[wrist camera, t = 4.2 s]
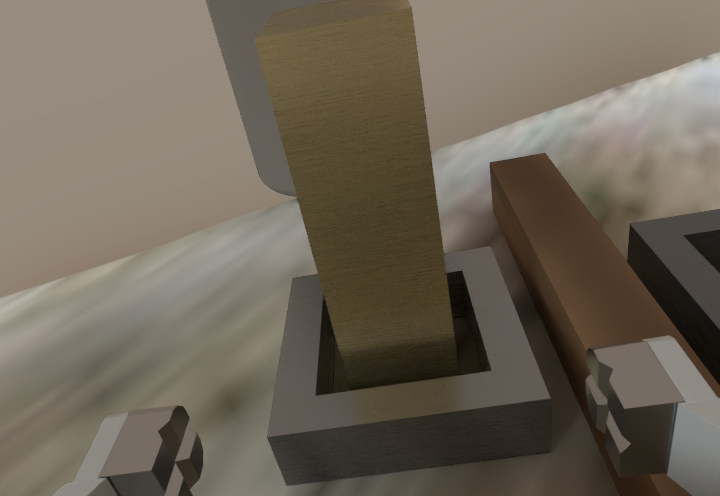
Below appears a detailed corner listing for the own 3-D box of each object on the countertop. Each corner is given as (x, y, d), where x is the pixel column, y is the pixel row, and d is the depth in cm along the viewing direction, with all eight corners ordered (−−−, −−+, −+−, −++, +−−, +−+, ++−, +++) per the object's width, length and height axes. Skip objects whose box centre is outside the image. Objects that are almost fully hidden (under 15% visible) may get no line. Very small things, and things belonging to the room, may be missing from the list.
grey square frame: (286, 485, 20) (266, 437, 18) (305, 320, 27) (292, 278, 26) (551, 451, 19) (550, 398, 18) (494, 291, 26) (490, 245, 25)
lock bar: (357, 419, 22) (253, 39, 14) (357, 348, 25) (273, 12, 18) (463, 405, 21) (411, 7, 14) (448, 334, 25) (400, -14, 17)
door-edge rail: (679, 628, 14) (694, 561, 12) (493, 210, 33) (489, 162, 31) (807, 615, 14) (838, 544, 12) (545, 201, 32) (544, 152, 31)
